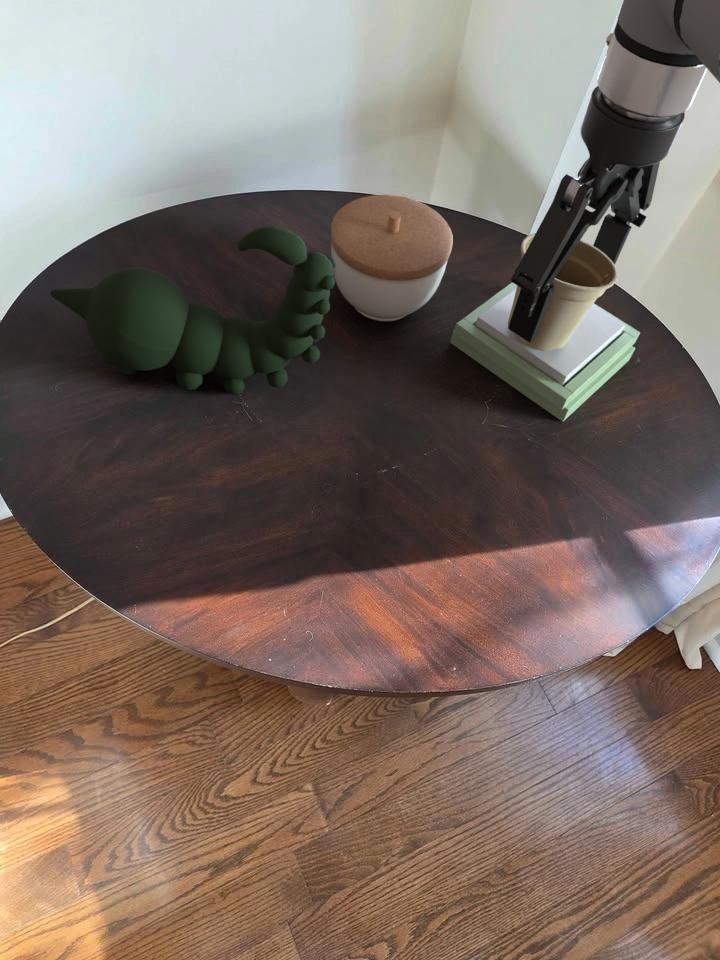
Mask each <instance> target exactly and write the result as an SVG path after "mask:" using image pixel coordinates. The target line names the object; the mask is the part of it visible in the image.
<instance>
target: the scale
mask: <svg viewBox="0 0 720 960" xmlns="http://www.w3.org/2000/svg"><path fill="white" fill-rule="evenodd" d="M516 288H517V285H516V284H514V283H513V282H510V283H509V284H508V285H507V286H505V287H504V288H502V289H500V290H499V292H497V293H496V294H494V295H493V296H491V297H490V298H489V299H488V300H486V301H485V302H483V303H482V304H481V305H480V306H478V307H476V308H475V309H474V310H473V311H471V312H470V313H469V314H467V315H466V316H465V317H463V318H461V319H460V320H459V321H457V322H456V323H455V328H454V329H453V330H452V334H451V337H450V344H451V345H453V346H454V347H455V348H457V349H458V350H459V351H461V352H463V353H464V354H465V355H467V356H468V357H470V358H471V359H473V360H474V361H475V362H476V363H478V364H480V365H481V366H482V367H484V368H485V369H486V370H488V371H490V372H491V373H493V374H494V375H495V376H496V377H498V378H499V379H501V380H503V381H504V382H505V383H507V384H508V385H509V386H510V387H513V388H514V389H515V390H516V391H518V392H519V393H521V394H523V395H524V396H525V397H526V398H528V399H529V400H531V401H532V402H533V403H535V404H537V405H538V406H539V407H541V408H542V409H544V410H545V411H546V412H548V413H549V414H551V415H552V416H553V417H555V418H556V419H557V420H559V421H560V422H562V423H563V422H565V421H566V420H567V419H568V418H569V417H570V416H571V415H572V414H573V413H575V411H576V410H577V409H578V408H579V407H581V405H583V404H584V403H585V402H586V401H587V400H588V399H589V398H590V397H592V395H593V394H594V393H596V392H597V391H598V390H599V389H600V388H601V387H602V386H604V384H605V383H607V382H608V381H609V380H610V379H611V378H612V377H613V376H614V375H615V374H616V373H618V372H619V370H621V368H623V367H624V366H625V365H626V364H627V363H628V362H629V361H630V360H631V358H632V356H633V354H634V352H635V350H636V347H635V346H634V345H635V344H636V342H637V340H638V338H639V336H640V334H641V332H640V331H638V330H637V329H636V328H634V327H633V326H631V325H629V324H627V323H626V322H624V321H623V320H621V319H620V318H618V317H617V316H615V315H613V314H612V313H611V312H608V311H607V310H605V309H604V308H602V307H601V306H599V305H597V304H596V303H595V302H594V303H593V304H594V305H595V306H597V307H598V308H600V309H602V310H603V311H605V312H606V313H608V314H610V315H611V316H613V317H614V318H616V319H617V320H619V321H621V322H622V323H624V324H625V326H624V328H623V330H622V332H621V334H620V336H618V337H617V338H616V339H615V340H614V341H613V342H612V343H611V344H609V345H608V346H607V347H606V348H605V349H604V350H603V351H602V352H600V353H599V354H598V355H597V356H596V357H595V358H594V359H593V360H591V361H590V362H589V363H588V364H587V365H586V366H585V367H584V368H583V369H581V370H580V371H579V372H578V373H577V374H576V375H575V376H574V377H572V378H571V379H570V380H569V381H568V382H567V383H566V384H565V385H563V386H561V385H560V384H558V383H557V382H555V381H554V380H552V379H551V378H549V377H548V376H547V375H545V374H544V373H542V372H541V371H539V370H538V369H536V368H535V367H533V366H532V365H531V364H529V363H528V362H526V361H525V360H523V359H522V358H520V357H519V356H517V355H516V354H514V353H513V352H512V351H510V350H509V349H507V348H506V347H504V346H503V345H501V344H500V343H498V342H497V341H496V340H494V339H493V338H491V337H490V336H488V335H487V334H485V333H484V332H482V331H481V330H479V329H478V328H477V327H475V325H476V322H477V318H478V317H479V316H480V315H481V314H483V313H484V312H485V311H487V310H488V309H489V308H491V307H492V306H493V305H495V304H496V303H497V302H499V301H500V300H501V299H503V298H504V297H505V296H507V295H508V294H509V293H511V292H512V291H513V290H515V289H516Z"/></svg>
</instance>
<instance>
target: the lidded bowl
mask: <svg viewBox="0 0 720 960" xmlns="http://www.w3.org/2000/svg"><path fill="white" fill-rule="evenodd" d="M453 243H454V239H453V233H452V230H451V227H450V225H449V224H448V222H447V220H446V219H445V218H444V217H443V216H442V215H441V214H440V213H439V212H438V211H437V210H435V209H433V208H432V207H431V206H429V205H427V204H425V203H423V202H421V201H418V200H415V199H413V198H409V197H405V196H400V195H394V194H374V195H367V196H364V197H360V198H357V199H353V200H352V201H350V202H348V203H346V204H345V205H344V206H343V207H341V208H340V209H339V210H338V211H337V212H336V213H335V215H334V217H333V218H332V222H331V225H330V257H332V258H333V259H334V260H335V262H336V266H335V268H334V270H333V272H334V273H333V278H334V280H335V284H336V286H337V289H338V291H339V292H340V294H341V295H342V297H343V298H344V299H345V300H346V302H347V303H349V304H350V305H351V306H352V307H353V308H354V309H355V310H356V311H357V312H358V313H359V314H361V315H362V316H364V317H366V318H368V319H370V320H373V321H378V322H392V321H393V322H394V321H398V320H401V319H403V318H405V317H407V316H408V315H411V314H413V313H415V312H416V311H418V310H419V309H421V308H422V307H424V306H425V305H426V304H427V303H428V302H429V301H430V300H431V298H432V297H433V296H434V295H435V293H436V292H437V290H438V288H439V286H440V285H441V281H442V279H443V276H444V275H445V272H446V269H447V264H448V260H449V258H450V255H451V253H452V249H453Z"/></svg>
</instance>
